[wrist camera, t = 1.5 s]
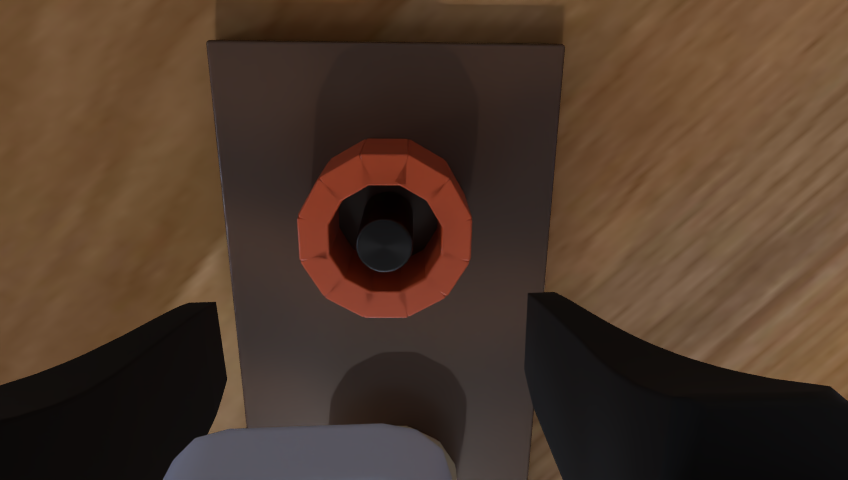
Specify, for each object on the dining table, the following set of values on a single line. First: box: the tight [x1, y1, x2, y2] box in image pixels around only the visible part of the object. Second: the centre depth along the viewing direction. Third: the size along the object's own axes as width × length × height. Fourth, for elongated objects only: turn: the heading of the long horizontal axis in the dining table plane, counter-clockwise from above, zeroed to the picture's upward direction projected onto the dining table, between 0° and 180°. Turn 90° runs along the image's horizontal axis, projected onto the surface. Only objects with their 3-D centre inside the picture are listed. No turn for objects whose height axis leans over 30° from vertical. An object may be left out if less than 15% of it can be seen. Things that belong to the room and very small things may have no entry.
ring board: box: [206, 40, 565, 480], centre depth 23 cm, size 24×12×4 cm, turn 179°
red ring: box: [297, 139, 472, 318], centre depth 20 cm, size 6×6×3 cm
